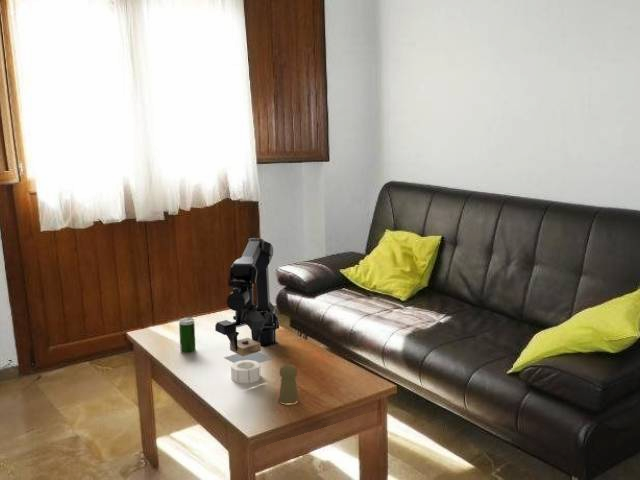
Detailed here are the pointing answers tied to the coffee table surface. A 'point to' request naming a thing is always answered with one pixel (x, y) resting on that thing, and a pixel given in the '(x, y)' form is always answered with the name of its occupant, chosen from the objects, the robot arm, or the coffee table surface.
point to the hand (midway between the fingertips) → (245, 348)
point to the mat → (248, 357)
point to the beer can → (187, 335)
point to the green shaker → (288, 384)
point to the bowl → (245, 371)
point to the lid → (246, 347)
